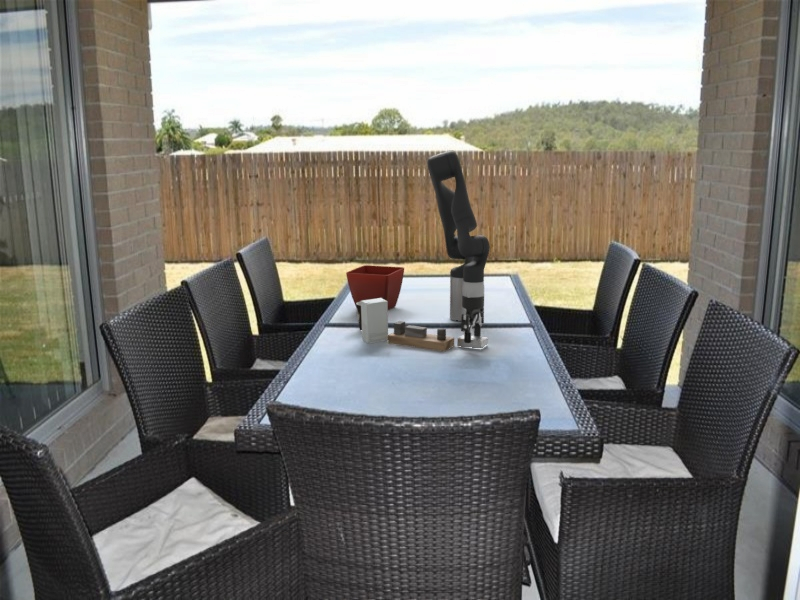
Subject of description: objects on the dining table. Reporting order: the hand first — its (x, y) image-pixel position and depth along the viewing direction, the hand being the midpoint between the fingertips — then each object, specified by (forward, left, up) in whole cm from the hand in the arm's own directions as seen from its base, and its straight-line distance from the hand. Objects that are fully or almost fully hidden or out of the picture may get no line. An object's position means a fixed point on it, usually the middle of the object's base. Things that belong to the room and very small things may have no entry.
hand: (472, 339), depth 259 cm
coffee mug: (-5, -45, -3) cm, 45 cm away
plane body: (+6, -17, -2) cm, 18 cm away
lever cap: (0, 0, -3) cm, 3 cm away
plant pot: (-34, -59, -3) cm, 68 cm away
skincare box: (+9, -34, -3) cm, 35 cm away
